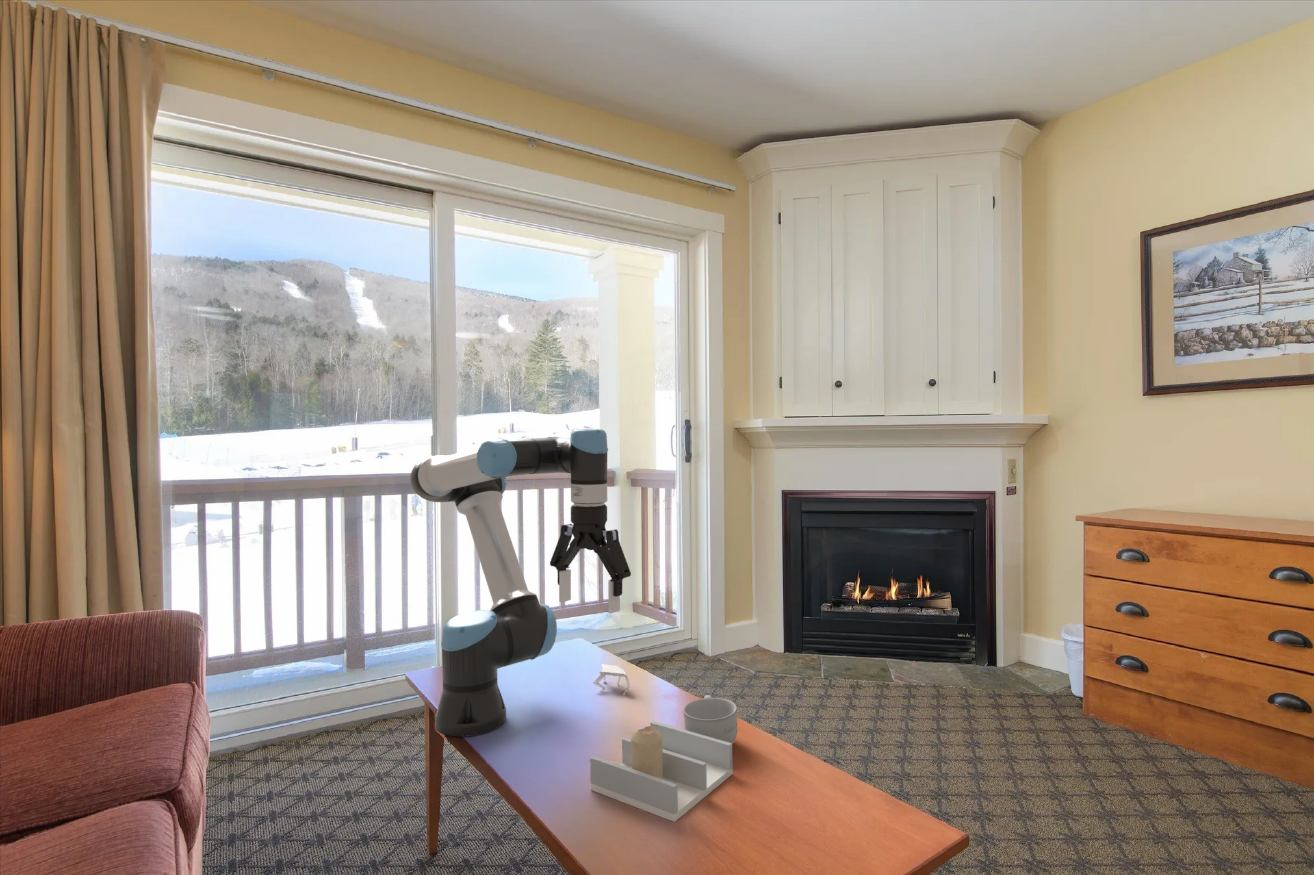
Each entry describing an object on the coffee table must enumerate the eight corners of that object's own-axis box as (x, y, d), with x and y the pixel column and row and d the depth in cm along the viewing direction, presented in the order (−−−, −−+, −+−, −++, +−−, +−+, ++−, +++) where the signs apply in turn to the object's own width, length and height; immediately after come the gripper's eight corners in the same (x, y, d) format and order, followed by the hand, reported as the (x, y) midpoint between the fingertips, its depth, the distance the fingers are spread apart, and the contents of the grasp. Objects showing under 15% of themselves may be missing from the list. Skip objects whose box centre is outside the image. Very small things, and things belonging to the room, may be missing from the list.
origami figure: (583, 690, 172) (583, 670, 171) (605, 680, 178) (605, 661, 178) (622, 701, 165) (622, 680, 165) (643, 689, 172) (643, 669, 172)
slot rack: (590, 789, 124) (590, 758, 124) (653, 749, 139) (653, 720, 139) (674, 822, 113) (673, 787, 113) (732, 774, 129) (732, 743, 129)
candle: (645, 774, 127) (644, 719, 126) (669, 784, 123) (668, 727, 123) (625, 786, 122) (624, 730, 122) (649, 797, 119) (648, 738, 119)
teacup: (735, 761, 134) (734, 719, 134) (679, 756, 136) (678, 715, 136) (741, 730, 148) (740, 692, 148) (690, 726, 150) (689, 689, 150)
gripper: (533, 501, 148) (533, 600, 149) (624, 510, 133) (624, 620, 134) (558, 497, 154) (558, 593, 155) (648, 506, 139) (647, 612, 140)
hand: (588, 606), depth 144 cm, fingers open, 13 cm apart
